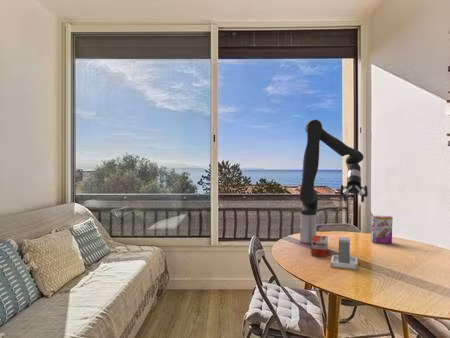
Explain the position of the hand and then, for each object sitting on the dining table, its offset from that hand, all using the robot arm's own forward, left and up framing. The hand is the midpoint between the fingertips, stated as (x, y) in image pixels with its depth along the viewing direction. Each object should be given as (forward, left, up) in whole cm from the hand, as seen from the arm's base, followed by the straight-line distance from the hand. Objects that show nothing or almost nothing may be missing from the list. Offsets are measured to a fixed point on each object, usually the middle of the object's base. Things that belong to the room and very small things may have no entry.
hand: (353, 201), depth 180 cm
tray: (-4, -22, -28) cm, 36 cm away
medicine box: (-17, -6, -29) cm, 34 cm away
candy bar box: (+16, +30, -29) cm, 44 cm away
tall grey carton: (-4, -22, -28) cm, 36 cm away
